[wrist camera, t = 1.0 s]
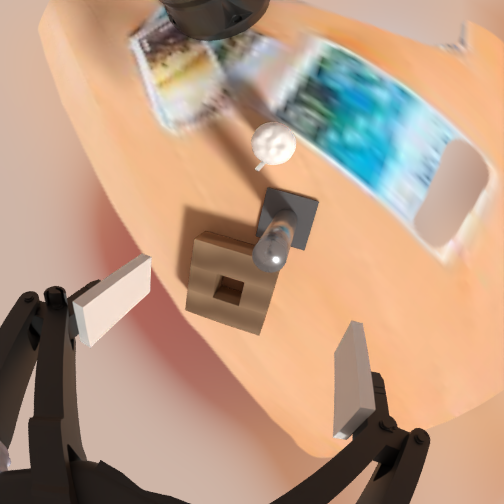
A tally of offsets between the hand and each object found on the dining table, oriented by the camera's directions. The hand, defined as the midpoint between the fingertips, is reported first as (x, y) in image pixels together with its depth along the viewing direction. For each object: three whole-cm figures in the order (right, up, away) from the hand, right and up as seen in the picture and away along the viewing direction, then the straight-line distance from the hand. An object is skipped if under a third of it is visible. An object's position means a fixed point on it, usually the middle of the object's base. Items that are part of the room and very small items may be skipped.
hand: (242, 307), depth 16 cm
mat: (+5, +8, +20) cm, 22 cm away
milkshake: (+4, +17, +17) cm, 25 cm away
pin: (+5, +8, +20) cm, 22 cm away
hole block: (-2, -1, +25) cm, 25 cm away
